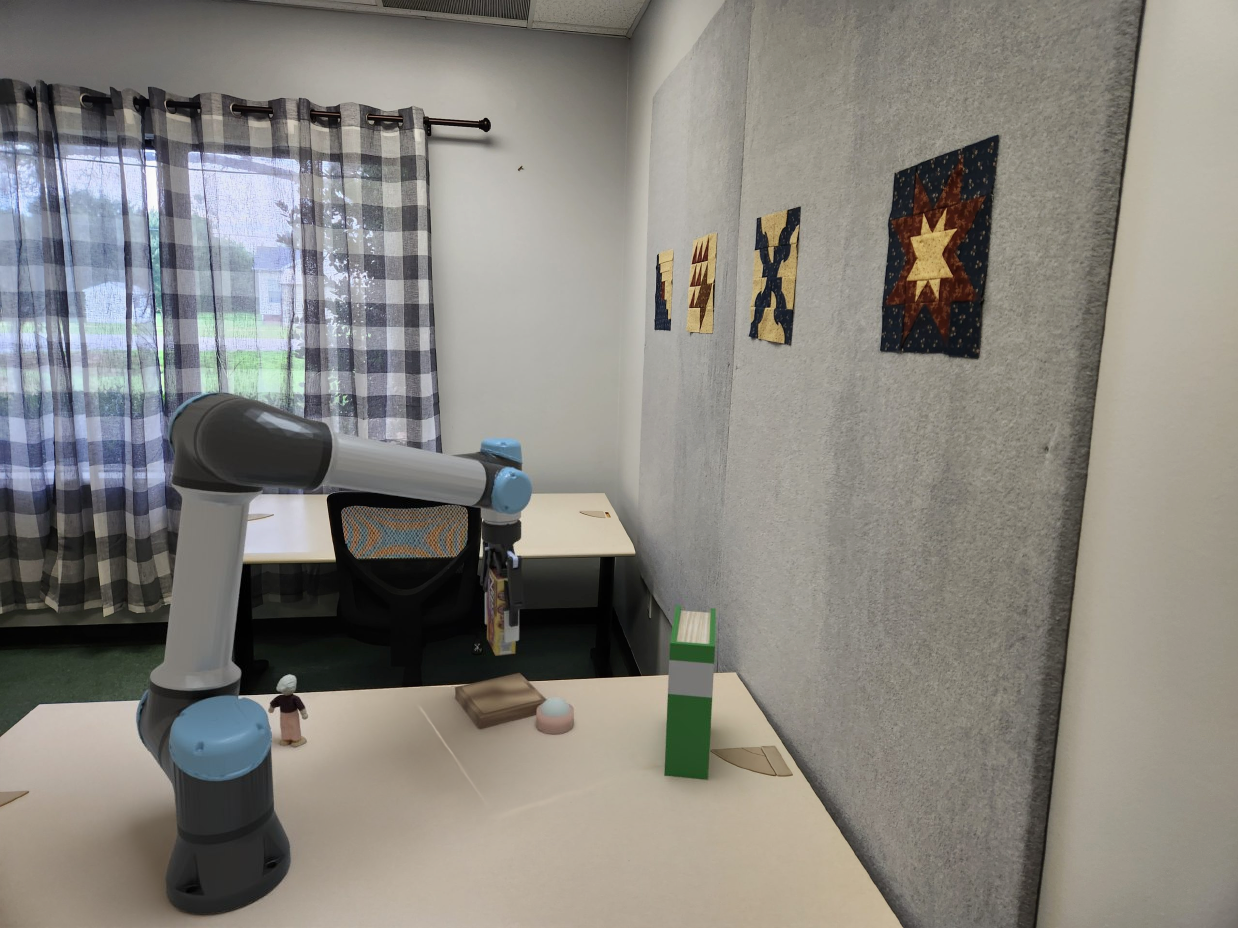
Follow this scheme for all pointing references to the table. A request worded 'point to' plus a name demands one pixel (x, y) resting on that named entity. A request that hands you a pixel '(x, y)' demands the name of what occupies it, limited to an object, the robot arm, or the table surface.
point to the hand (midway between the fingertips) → (501, 631)
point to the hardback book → (690, 694)
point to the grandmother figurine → (289, 711)
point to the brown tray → (499, 700)
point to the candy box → (497, 615)
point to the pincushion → (555, 716)
